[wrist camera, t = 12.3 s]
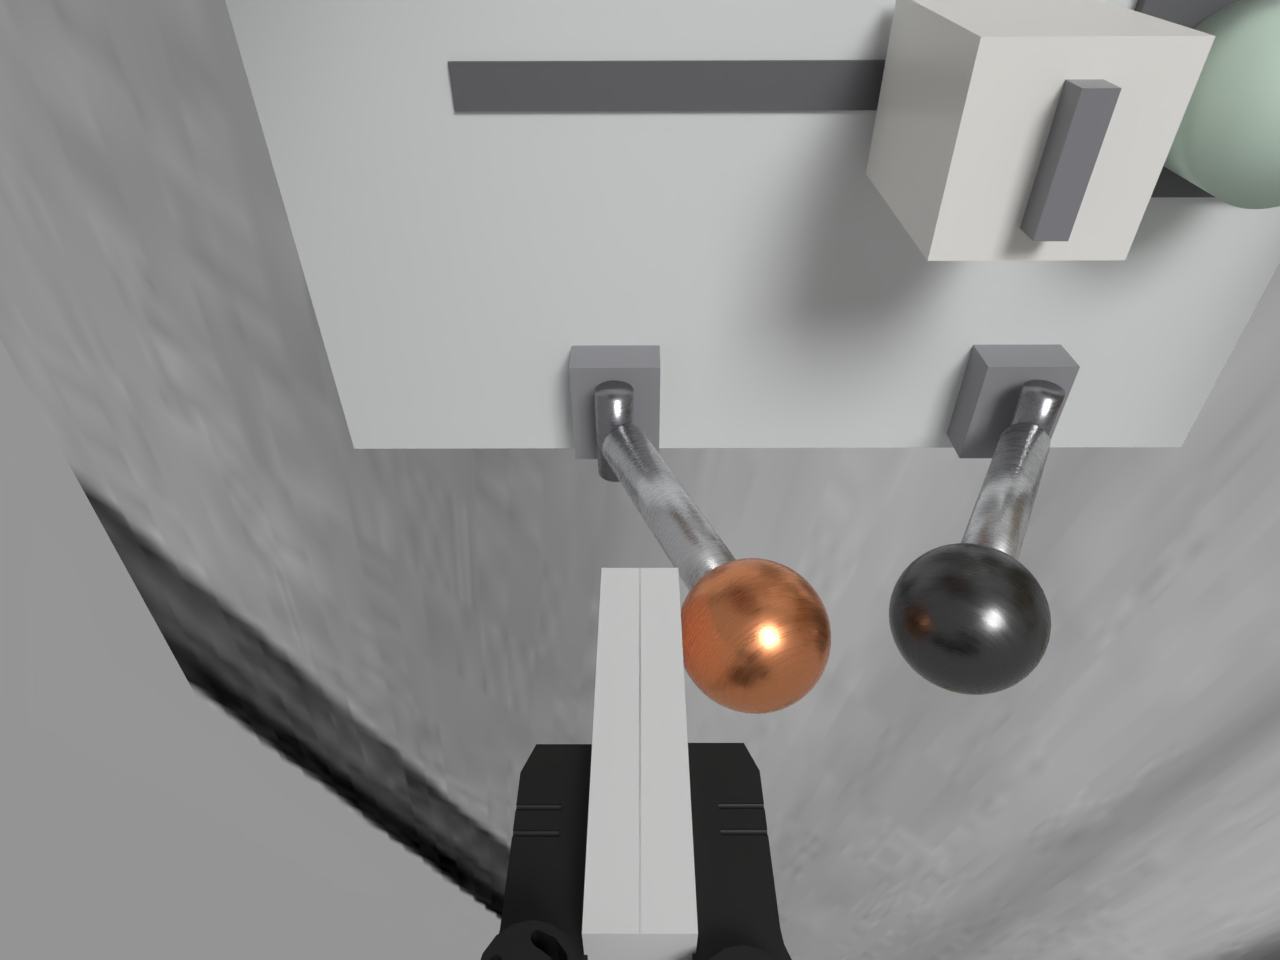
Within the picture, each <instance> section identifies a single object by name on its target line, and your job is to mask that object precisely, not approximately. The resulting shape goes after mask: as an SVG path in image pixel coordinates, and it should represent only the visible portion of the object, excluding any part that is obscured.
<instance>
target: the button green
mask: <svg viewBox="0 0 1280 960" xmlns="http://www.w3.org/2000/svg"><path fill="white" fill-rule="evenodd" d="M1194 29H1195V30H1198V31H1201V32H1204V33H1208V34H1211V35H1214V36H1216V37H1215V39H1214V41H1213V44H1212V46H1211V49H1210V51H1209V54H1208V56H1207V59H1206V61H1205V64H1204V66H1203V69H1202V71H1201V74H1200V76H1199V79H1198V81H1197V84H1196V86H1195V89H1194V91H1193V94H1192V96H1191V98H1190V101H1189V103H1188V106H1187V108H1186V111H1185V113H1184V116H1183V118H1182V121H1181V123H1180V126H1179V128H1178V131H1177V133H1176V136H1175V138H1174V141H1173V143H1172V146H1171V148H1170V151H1169V153H1168V155H1167V158H1166V160H1165V163H1164V165H1163V166H1164V167H1166V168H1167V169H1169V170H1171V171H1172V172H1174V173H1176V174H1177V175H1179V176H1181V177H1182V178H1184V179H1186V180H1188V181H1189V182H1191V183H1193V184H1194V185H1196V186H1198V187H1199V188H1201V189H1203V190H1204V191H1206V192H1208V193H1209V194H1211V195H1213V196H1215V197H1216V198H1218V199H1220V200H1221V201H1223V202H1225V203H1227V204H1229V205H1232V206H1234V207H1239V208H1244V209H1268V208H1273V207H1278V206H1280V0H1238V1H1236V2H1234V3H1232V4H1230V5H1228V6H1226V7H1224V8H1222V9H1220V10H1219V11H1217V12H1215V13H1214V14H1212V15H1211V16H1209V17H1208V18H1207V19H1205V20H1204V21H1202V22H1201V23H1200V24H1199V25H1198V26H1196V27H1195V28H1194Z"/></svg>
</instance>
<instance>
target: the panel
mask: <svg viewBox="0 0 1280 960" xmlns="http://www.w3.org/2000/svg"><path fill="white" fill-rule="evenodd" d="M1102 1H1105V2H1108V3H1112V4H1115V5H1118V6H1121V7H1124V8H1128V9H1131V10H1134V11H1137V12H1140V13H1144V14H1147V15H1150V16H1153V17H1156V18H1160V19H1163V20H1166V21H1169V22H1172V23H1176V24H1179V25H1182V26H1185V27H1188V28H1192V29H1194V28H1195V27H1196V26H1198V25H1199V24H1200V23H1201V22H1202V21H1204V20H1205V19H1207V18H1208V17H1209V16H1211V15H1212V14H1214V13H1215V12H1217V11H1219V10H1220V9H1222V8H1224V7H1226V6H1228V5H1230V4H1232V3H1234V2H1236V1H1238V0H1102ZM225 2H226V5H227V9H228V12H229V15H230V19H231V22H232V26H233V29H234V33H235V36H236V40H237V43H238V47H239V50H240V54H241V57H242V61H243V64H244V68H245V71H246V74H247V78H248V81H249V85H250V88H251V92H252V95H253V99H254V102H255V106H256V109H257V113H258V116H259V120H260V123H261V127H262V130H263V133H264V137H265V140H266V144H267V147H268V151H269V154H270V158H271V161H272V165H273V168H274V172H275V175H276V179H277V182H278V186H279V189H280V192H281V196H282V199H283V203H284V206H285V210H286V213H287V217H288V220H289V224H290V227H291V231H292V234H293V238H294V241H295V245H296V248H297V252H298V255H299V258H300V262H301V265H302V269H303V272H304V276H305V279H306V283H307V286H308V290H309V293H310V297H311V300H312V304H313V307H314V311H315V314H316V317H317V321H318V324H319V328H320V331H321V335H322V338H323V342H324V345H325V349H326V352H327V356H328V359H329V363H330V366H331V370H332V373H333V376H334V380H335V383H336V387H337V390H338V394H339V397H340V401H341V404H342V408H343V411H344V415H345V418H346V422H347V425H348V429H349V432H350V436H351V439H352V442H353V446H354V449H484V448H575V459H598V455H597V433H596V411H595V388H596V387H597V386H598V385H599V384H601V383H603V382H606V381H612V380H617V381H623V382H626V383H628V384H630V385H631V386H632V387H633V390H634V426H637V427H639V428H640V429H641V430H642V431H643V433H644V434H645V436H646V437H647V438H648V440H649V441H650V442H651V444H652V445H653V446H654V448H655V449H656V451H657V452H658V453H659V448H954V449H955V451H956V453H957V455H958V457H959V458H993V455H994V452H995V450H996V447H997V444H998V442H999V439H1000V436H1001V434H1002V433H1003V431H1004V430H1005V429H1006V428H1008V427H1009V424H1010V421H1011V418H1012V415H1013V413H1014V410H1015V407H1016V404H1017V401H1018V399H1019V396H1020V393H1021V390H1022V387H1023V384H1024V383H1025V382H1026V381H1029V380H1036V379H1037V380H1046V381H1049V382H1052V383H1055V384H1057V385H1059V386H1060V387H1061V388H1063V389H1064V391H1065V397H1064V399H1063V402H1062V404H1061V407H1060V409H1059V412H1058V414H1057V417H1056V419H1055V422H1054V424H1053V427H1052V430H1051V432H1050V435H1049V439H1050V447H1182V445H1183V443H1184V441H1185V439H1186V437H1187V435H1188V433H1189V432H1190V430H1191V428H1192V426H1193V424H1194V422H1195V420H1196V418H1197V417H1198V415H1199V413H1200V411H1201V409H1202V407H1203V405H1204V403H1205V402H1206V400H1207V398H1208V396H1209V394H1210V392H1211V390H1212V389H1213V387H1214V385H1215V383H1216V381H1217V379H1218V377H1219V375H1220V374H1221V372H1222V370H1223V368H1224V366H1225V364H1226V362H1227V360H1228V359H1229V357H1230V355H1231V353H1232V351H1233V349H1234V347H1235V345H1236V344H1237V342H1238V340H1239V338H1240V336H1241V334H1242V332H1243V330H1244V329H1245V327H1246V325H1247V323H1248V321H1249V319H1250V317H1251V315H1252V314H1253V312H1254V310H1255V308H1256V306H1257V304H1258V302H1259V300H1260V299H1261V297H1262V295H1263V293H1264V291H1265V289H1266V287H1267V286H1268V284H1269V282H1270V280H1271V278H1272V276H1273V274H1274V272H1275V271H1276V269H1277V267H1278V265H1279V263H1280V206H1278V207H1273V208H1268V209H1244V208H1239V207H1234V206H1232V205H1229V204H1227V203H1225V202H1223V201H1221V200H1220V199H1218V198H1216V197H1215V196H1213V195H1211V194H1209V193H1208V192H1206V191H1204V190H1203V189H1201V188H1199V187H1198V186H1196V185H1194V184H1193V183H1191V182H1189V181H1188V180H1186V179H1184V178H1182V177H1181V176H1179V175H1177V174H1176V173H1174V172H1172V171H1171V170H1169V169H1167V168H1166V167H1164V166H1163V168H1162V170H1161V173H1160V175H1159V178H1158V180H1157V183H1156V185H1155V188H1154V190H1153V193H1152V195H1151V198H1150V200H1149V203H1148V205H1147V208H1146V210H1145V212H1144V215H1143V217H1142V220H1141V222H1140V225H1139V227H1138V230H1137V232H1136V235H1135V237H1134V240H1133V242H1132V245H1131V247H1130V250H1129V252H1128V255H1127V257H1126V260H1069V261H927V259H926V258H925V256H924V255H923V254H922V252H921V251H920V249H919V248H918V247H917V245H916V244H915V242H914V241H913V239H912V238H911V237H910V235H909V234H908V232H907V231H906V230H905V228H904V227H903V225H902V224H901V223H900V221H899V220H898V218H897V217H896V216H895V214H894V213H893V211H892V210H891V208H890V207H889V206H888V204H887V203H886V201H885V200H884V199H883V197H882V196H881V194H880V193H879V192H878V190H877V189H876V187H875V186H874V185H873V183H872V182H871V180H870V179H869V177H868V176H867V175H866V170H867V164H868V159H869V153H870V147H871V141H872V136H873V130H874V124H875V118H876V113H877V107H878V101H879V95H880V90H881V84H882V78H883V72H884V67H885V61H886V55H887V49H888V43H889V38H890V32H891V26H892V20H893V15H894V9H895V3H896V0H225Z"/></svg>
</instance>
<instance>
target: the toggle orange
mask: <svg viewBox="0 0 1280 960" xmlns="http://www.w3.org/2000/svg"><path fill="white" fill-rule="evenodd" d="M595 411H596V433H597V455H598V473H599V475H600V477H602V478H603V479H605V480H607V481H611V482H620V483H621V484H622V486H623V487H624V489H625V490H626V492H627V494H628V495H629V497H630V498H631V500H632V501H633V503H634V505H635V506H636V508H637V509H638V511H639V512H640V514H641V516H642V517H643V519H644V520H645V522H646V524H647V525H648V527H649V528H650V530H651V531H652V533H653V535H654V536H655V538H656V539H657V541H658V542H659V544H660V546H661V547H662V549H663V550H664V552H665V553H666V555H667V557H668V558H669V560H670V561H671V563H672V565H673V566H674V568H678V572H679V576H680V577H681V579H682V580H683V582H684V583H685V585H686V587H687V588H688V590H689V591H690V592H689V593H688V595H687V596H686V598H685V601H684V603H683V605H682V607H681V627H682V646H683V664H684V667H685V670H686V671H687V673H688V675H689V677H690V678H691V680H692V681H693V683H694V684H695V685H696V686H697V687H698V688H699V689H700V690H701V691H702V693H704V694H705V695H706V696H707V697H709V698H710V699H711V700H713V701H714V702H716V703H718V704H719V705H721V706H723V707H726V708H728V709H731V710H733V711H738V712H742V713H749V714H764V713H770V712H775V711H779V710H782V709H784V708H787V707H789V706H791V705H793V704H794V703H796V702H798V701H799V700H800V699H802V698H803V697H804V696H805V695H807V694H808V693H809V692H810V691H811V690H812V689H813V687H814V686H815V685H816V684H817V682H818V681H819V679H820V677H821V676H822V674H823V672H824V670H825V667H826V665H827V662H828V659H829V654H830V649H831V628H830V622H829V618H828V614H827V611H826V608H825V606H824V604H823V602H822V600H821V598H820V596H819V595H818V594H817V592H816V591H815V589H814V588H813V587H812V586H811V585H810V584H809V583H808V581H807V580H806V579H805V578H803V577H802V576H801V575H799V574H798V573H797V572H795V571H794V570H792V569H791V568H789V567H787V566H785V565H783V564H780V563H777V562H775V561H771V560H766V559H759V558H744V559H737V560H736V559H735V557H734V556H733V555H732V553H731V552H730V551H729V549H728V548H727V547H726V545H725V544H724V542H723V541H722V540H721V538H720V537H719V536H718V534H717V533H716V531H715V530H714V529H713V527H712V526H711V525H710V523H709V522H708V520H707V519H706V518H705V516H704V515H703V514H702V512H701V511H700V510H699V508H698V507H697V505H696V504H695V503H694V501H693V500H692V499H691V497H690V496H689V494H688V493H687V492H686V490H685V489H684V488H683V486H682V485H681V483H680V482H679V481H678V479H677V478H676V477H675V475H674V474H673V473H672V471H671V470H670V468H669V467H668V466H667V464H666V463H665V462H664V460H663V459H662V457H661V456H660V455H659V453H658V452H657V451H656V449H655V448H654V446H653V445H652V444H651V442H650V441H649V440H648V438H647V437H646V436H645V434H644V433H643V431H642V430H641V429H640V428H639V427H637V426H634V390H633V387H632V386H631V385H630V384H628V383H626V382H623V381H617V380H612V381H606V382H603V383H601V384H599V385H598V386H597V387H596V388H595Z"/></svg>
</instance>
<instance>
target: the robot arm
mask: <svg viewBox="0 0 1280 960" xmlns="http://www.w3.org/2000/svg"><path fill="white" fill-rule="evenodd" d="M481 960H792V959H791V957H790V955H789V953H788V951H787V949H786V947H785V945H784V941H783V937H782V933H781V929H780V922H779V914H778V906H777V899H776V891H775V884H774V876H773V868H772V861H771V853H770V845H769V838H768V834H767V823H766V815H765V809H764V800H763V792H762V784H761V777H760V770H759V769H758V767H757V765H756V763H755V762H754V760H753V758H752V756H751V755H750V753H749V751H748V749H747V748H746V746H745V744H744V743H688V738H687V720H686V701H685V683H684V664H683V646H682V627H681V609H680V590H679V572H678V568H602V570H601V588H600V607H599V625H598V644H597V662H596V681H595V699H594V718H593V736H592V744H536V746H535V747H534V749H533V751H532V753H531V754H530V756H529V758H528V760H527V762H526V763H525V765H524V767H523V769H522V770H521V772H520V779H519V787H518V795H517V802H516V810H515V818H514V825H513V837H512V841H511V848H510V856H509V864H508V871H507V879H506V887H505V894H504V902H503V909H502V917H501V925H500V931H499V934H498V935H496V936H495V938H494V939H493V940H492V942H491V943H490V944H489V946H488V947H487V948H486V950H485V951H484V952H483V954H482V957H481Z"/></svg>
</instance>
